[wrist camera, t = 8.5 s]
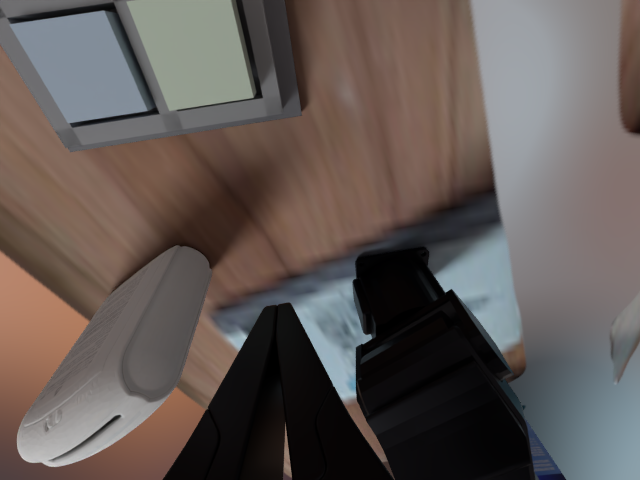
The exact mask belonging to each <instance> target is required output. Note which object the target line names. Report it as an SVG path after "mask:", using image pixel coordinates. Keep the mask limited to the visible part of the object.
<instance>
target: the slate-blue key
mask: <svg viewBox="0 0 640 480" xmlns="http://www.w3.org/2000/svg"><path fill="white" fill-rule="evenodd" d="M9 25H10V27H11V28H12V30H13V32H14V33H15V35H16V37H17V38H18V40H19V42H20V44H21V45H22V47H23V49H24V50H25V52H26V54H27V55H28V57H29V59H30V60H31V62H32V64H33V65H34V67H35V69H36V70H37V72H38V74H39V75H40V77H41V79H42V80H43V82H44V84H45V86H46V87H47V89H48V91H49V92H50V94H51V96H52V97H53V99H54V101H55V102H56V104H57V106H58V107H59V109H60V111H61V112H62V114H63V116H64V117H65V119H66V121H67V123H73V122H80V121H86V120H93V119H99V118H105V117H112V116H118V115H125V114H131V113H138V112H144V111H149V110H151V109H153V108H155V107H157V106H156V104H155V101H154V99H153V96H152V94H151V92H150V89H149V87H148V84H147V82H146V79H145V77H144V75H143V72H142V70H141V67H140V65H139V63H138V60H137V58H136V55H135V53H134V50H133V48H132V46H131V43H130V41H129V38H128V36H127V34H126V31H125V29H124V26H123V24H122V21H121V19H120V17H119V14H118V13H113V12H109V11H98V12H91V13H84V14H77V15H70V16H63V17H57V18H50V19H43V20H36V21H29V22H22V23H15V24H9Z"/></svg>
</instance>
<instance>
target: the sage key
mask: <svg viewBox="0 0 640 480" xmlns="http://www.w3.org/2000/svg"><path fill="white" fill-rule="evenodd" d="M127 5H128V7H129V10H130V12H131V15H132V17H133V20H134V22H135V25H136V28H137V30H138V33H139V35H140V38H141V40H142V43H143V45H144V48H145V50H146V53H147V55H148V58H149V61H150V63H151V66H152V68H153V71H154V73H155V76H156V78H157V81H158V83H159V86H160V88H161V91H162V94H163V96H164V99H165V101H166V104H167V106H168V109H169V111H172V110H178V109H185V108H191V107H198V106H204V105H211V104H217V103H224V102H230V101H236V100H243V99H249V98H254V96H255V94H256V88H255V84H254V79H253V75H252V70H251V66H250V61H249V57H248V53H247V48H246V44H245V39H244V35H243V30H242V26H241V21H240V17H239V13H238V8H237V4H236V0H134V1H127Z"/></svg>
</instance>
